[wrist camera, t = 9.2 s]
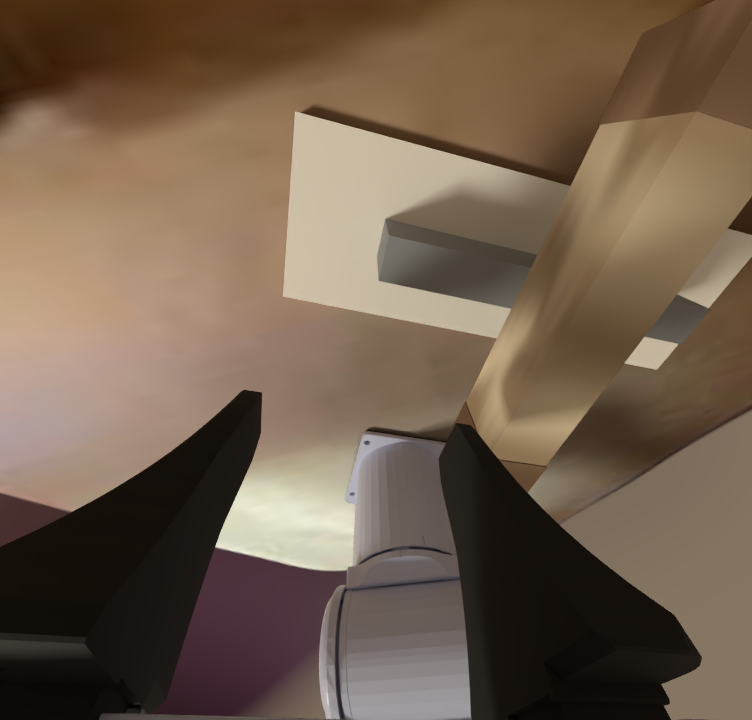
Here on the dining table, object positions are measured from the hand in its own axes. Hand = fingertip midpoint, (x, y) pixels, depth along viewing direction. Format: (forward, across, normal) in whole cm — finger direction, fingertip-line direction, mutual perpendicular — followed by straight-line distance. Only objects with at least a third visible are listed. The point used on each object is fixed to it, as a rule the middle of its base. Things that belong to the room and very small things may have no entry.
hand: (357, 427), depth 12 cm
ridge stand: (+10, -8, -5) cm, 14 cm away
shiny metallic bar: (+5, -8, -4) cm, 11 cm away
